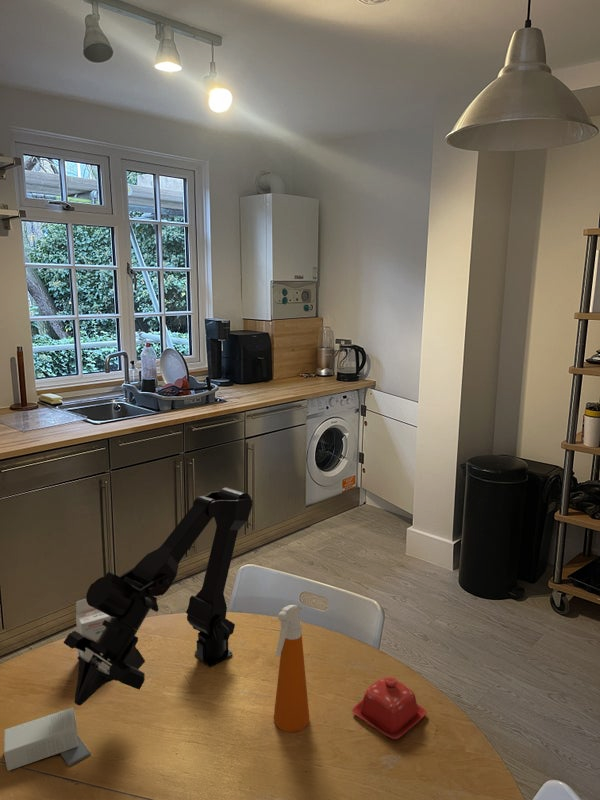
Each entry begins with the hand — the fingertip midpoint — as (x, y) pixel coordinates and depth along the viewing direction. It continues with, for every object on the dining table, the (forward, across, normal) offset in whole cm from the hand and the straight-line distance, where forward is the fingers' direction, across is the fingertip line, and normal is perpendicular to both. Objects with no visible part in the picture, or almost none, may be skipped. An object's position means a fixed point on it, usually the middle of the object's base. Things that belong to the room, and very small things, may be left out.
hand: (77, 704), depth 110 cm
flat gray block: (+7, 0, -5) cm, 9 cm away
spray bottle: (-14, -27, -26) cm, 40 cm away
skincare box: (+4, +1, -4) cm, 6 cm away
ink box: (-6, +19, -18) cm, 27 cm away
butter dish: (-24, -41, -37) cm, 60 cm away
